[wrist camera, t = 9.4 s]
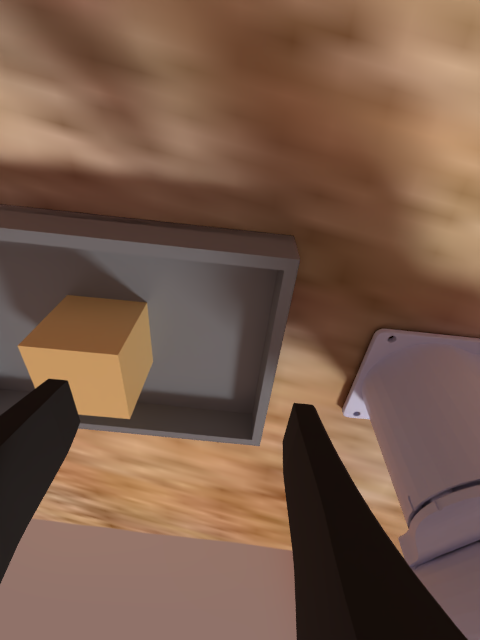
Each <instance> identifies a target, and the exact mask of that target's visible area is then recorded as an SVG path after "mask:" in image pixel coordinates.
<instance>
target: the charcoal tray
mask: <svg viewBox="0 0 480 640" xmlns="http://www.w3.org/2000/svg"><path fill="white" fill-rule="evenodd" d="M299 263H300V257H299V253H298V250H297V246H296V242H295V238H294V236H290V235H280V234H271V233H262V232H253V231H243V230H234V229H225V228H215V227H206V226H197V225H188V224H178V223H169V222H160V221H150V220H141V219H132V218H123V217H113V216H104V215H95V214H85V213H76V212H67V211H58V210H48V209H39V208H30V207H21V206H11V205H2V204H0V415H1V414H3V413H4V412H5V411H7V410H8V409H9V408H11V407H12V406H13V405H14V404H16V403H17V402H18V401H20V400H21V399H22V398H24V397H25V396H26V395H28V394H29V393H30V392H31V391H33V390H34V389H35V387H34V384H33V382H32V379H31V377H30V375H29V372H28V370H27V367H26V365H25V363H24V360H23V358H22V355H21V353H20V351H19V348H18V345H19V344H20V343H21V342H22V341H23V340H24V339H25V338H26V337H27V336H28V335H29V333H30V332H31V331H32V330H33V329H34V328H35V327H36V326H37V325H38V324H39V323H40V322H41V321H42V320H43V319H44V318H45V317H46V316H47V315H48V314H49V313H50V312H51V311H52V310H53V309H54V308H55V307H56V306H57V305H58V304H59V303H60V302H61V301H62V300H63V299H64V298H65V297H66V296H67V295H73V296H84V297H94V298H105V299H116V300H126V301H137V302H147V306H148V316H149V326H150V336H151V346H152V356H153V363H152V366H151V368H150V371H149V373H148V375H147V378H146V380H145V383H144V385H143V388H142V390H141V393H140V395H139V398H138V400H137V403H136V405H135V408H134V410H133V413H132V415H131V418H130V419H123V418H112V417H101V416H90V415H79V414H78V415H79V418H80V421H81V422H80V424H79V427H78V428H80V429H90V430H100V431H111V432H121V433H131V434H141V435H152V436H162V437H172V438H182V439H192V440H203V441H213V442H223V443H233V444H244V445H254V446H260V442H261V437H262V432H263V428H264V423H265V419H266V414H267V410H268V405H269V400H270V396H271V391H272V387H273V382H274V377H275V373H276V368H277V364H278V359H279V355H280V350H281V345H282V341H283V336H284V332H285V327H286V322H287V318H288V313H289V309H290V304H291V300H292V295H293V290H294V286H295V281H296V277H297V272H298V268H299Z"/></svg>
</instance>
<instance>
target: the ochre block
mask: <svg viewBox="0 0 480 640" xmlns="http://www.w3.org/2000/svg"><path fill="white" fill-rule="evenodd" d="M18 348H19V351H20V353H21V355H22V358H23V360H24V363H25V365H26V367H27V370H28V372H29V375H30V377H31V379H32V382H33V384H34V387H35V388H37V387H38V386H39V385H41V384H42V383H43V382H45V381H46V380H47V379H58V380H68V382H69V386H70V389H71V392H72V395H73V399H74V402H75V405H76V408H77V412H78V414H79V415H90V416H101V417H112V418H123V419H130V418H131V415H132V413H133V410H134V408H135V405H136V403H137V400H138V398H139V395H140V393H141V390H142V388H143V385H144V383H145V380H146V378H147V375H148V373H149V371H150V368H151V366H152V363H153V356H152V346H151V336H150V326H149V316H148V306H147V302H137V301H126V300H116V299H105V298H94V297H84V296H73V295H67V296H66V297H65V298H64V299H63V300H62V301H61V302H60V303H59V304H58V305H57V306H56V307H55V308H54V309H53V310H52V311H51V312H50V313H49V314H48V315H47V316H46V317H45V318H44V319H43V320H42V321H41V322H40V323H39V324H38V325H37V326H36V327H35V328H34V329H33V330H32V331H31V332H30V333H29V335H28V336H27V337H26V338H25V339H24V340H23V341H22V342H21V343H20V344H19V345H18Z"/></svg>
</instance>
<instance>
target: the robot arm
mask: <svg viewBox="0 0 480 640" xmlns="http://www.w3.org/2000/svg"><path fill="white" fill-rule="evenodd" d="M391 336H394V337H393V338H391V339H388V338H389V337H391ZM342 412H343V415H344V416H346V417H351V418H361V419H370V420H371V423H372V426H373V429H374V432H375V435H376V437H377V440H378V443H379V446H380V449H381V452H382V455H383V457H384V460H385V463H386V466H387V469H388V472H389V474H390V477H391V480H392V483H393V486H394V489H395V491H396V494H397V497H398V500H399V503H400V506H401V508H402V511H403V514H404V517H405V520H406V523H407V525H408V528H409V530H408V531H407V532H406V533H405V534H404V535H402V536H400V537H399V538H398V539H399V542H400V545H401V549H402V552H403V555H404V558H405V559H404V558H403V557H402V555H401V554H400V553H399V551H398V550H397V548H396V547H395V546H394V544H393V543H392V541H391V540H390V538H389V537H388V536H387V534H386V533H385V531H384V530H383V528H382V527H381V525H380V524H379V522H378V521H377V519H376V518H375V516H374V515H373V513H372V512H371V510H370V508H369V507H368V505H367V504H366V502H365V500H364V499H363V497H362V496H361V494H360V492H359V491H358V489H357V487H356V486H355V484H354V482H353V481H352V479H351V477H350V475H349V474H348V472H347V470H346V468H345V466H344V465H343V463H342V461H341V459H340V457H339V456H338V454H337V452H336V450H335V448H334V446H333V444H332V442H331V440H330V438H329V436H328V434H327V432H326V430H325V428H324V426H323V424H322V422H321V420H320V418H319V415H318V413H317V411H316V409H315V407H314V406H313V405H308V404H298V403H294V404H293V407H292V411H291V414H290V418H289V421H288V425H287V428H286V432H285V435H284V439H283V475H284V484H285V492H286V501H287V509H288V517H289V525H290V533H291V542H292V550H293V561H294V574H295V575H294V576H295V599H296V627H297V628H296V629H297V640H480V338H470V337H461V336H451V335H442V334H432V333H422V332H413V331H403V330H393V329H380V330H377V331H376V332H375V333H374V335H373V338H372V340H371V342H370V345H369V347H368V349H367V352H366V354H365V357H364V359H363V361H362V364H361V366H360V368H359V371H358V373H357V375H356V378H355V380H354V382H353V385H352V387H351V389H350V392H349V394H348V397H347V399H346V401H345V404H344V406H343V408H342ZM80 422H81V421H80V418H79V415H78V412H77V408H76V405H75V402H74V399H73V395H72V392H71V389H70V386H69V382H68V380H58V379H47V380H46V381H45V382H43V383H42V384H41V385H39V386H38V387H37V388H35V389H34V390H33V391H31V392H30V393H29V394H28V395H26V396H25V397H24V398H22V399H21V400H20V401H18V402H17V403H16V404H14V405H13V406H12V407H11V408H9V409H8V410H7V411H5V412H4V413H3V414H1V415H0V583H1V581H2V579H3V577H4V574H5V572H6V570H7V568H8V565H9V563H10V561H11V559H12V557H13V554H14V552H15V550H16V548H17V545H18V543H19V541H20V539H21V537H22V535H23V534H24V532H25V530H26V528H27V526H28V524H29V522H30V520H31V519H32V517H33V515H34V513H35V511H36V510H37V508H38V506H39V504H40V502H41V501H42V499H43V497H44V495H45V494H46V492H47V490H48V488H49V486H50V485H51V483H52V481H53V479H54V477H55V476H56V474H57V472H58V470H59V468H60V466H61V465H62V463H63V461H64V459H65V457H66V455H67V454H68V451H69V449H70V447H71V444H72V442H73V440H74V437H75V435H76V432H77V429H78V427H79V424H80Z"/></svg>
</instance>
